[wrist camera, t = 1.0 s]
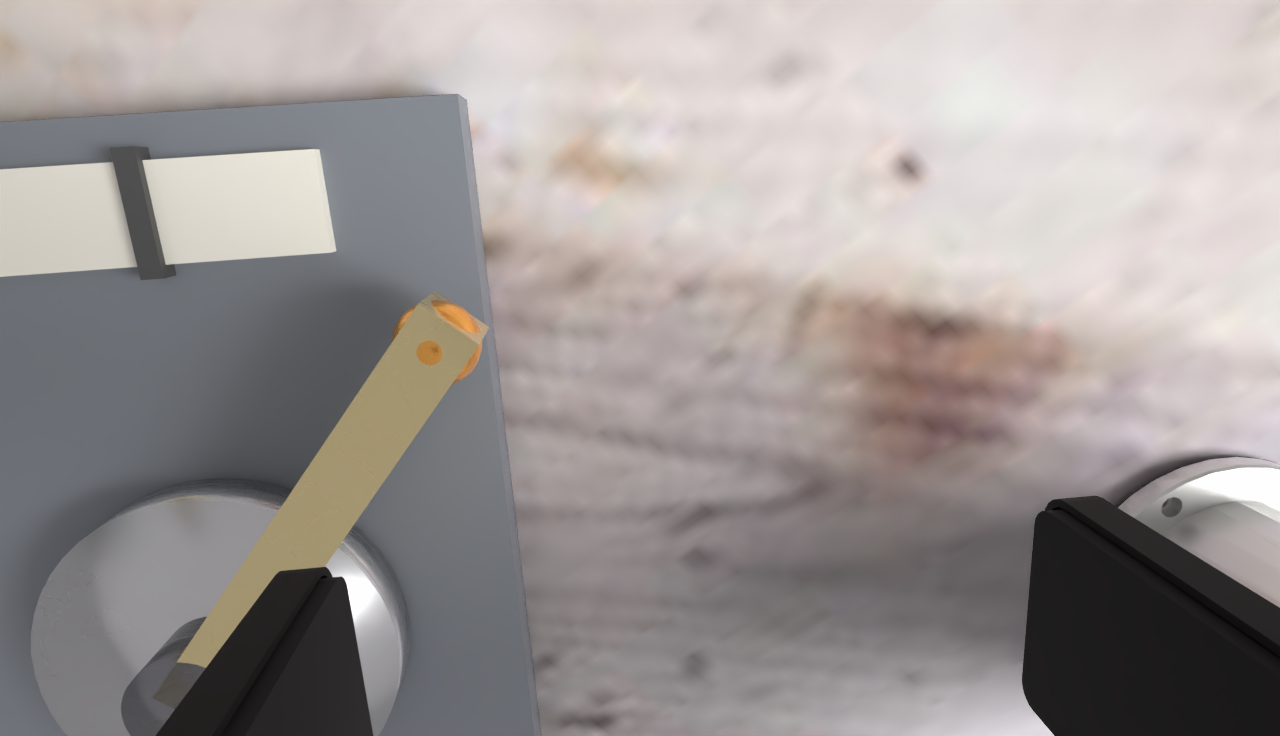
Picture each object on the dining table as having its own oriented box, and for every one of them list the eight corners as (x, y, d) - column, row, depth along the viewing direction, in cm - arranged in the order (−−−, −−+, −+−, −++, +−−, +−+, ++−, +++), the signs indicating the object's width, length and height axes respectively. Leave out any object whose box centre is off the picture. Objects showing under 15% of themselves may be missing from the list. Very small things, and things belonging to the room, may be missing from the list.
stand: (466, 100, 26) (453, 91, 23) (544, 761, 33) (541, 814, 30) (-154, 138, 25) (-245, 134, 22) (60, 816, 31) (12, 877, 29)
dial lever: (304, 818, 30) (258, 924, 26) (5, 674, 27) (-99, 765, 23) (621, 391, 26) (629, 432, 22) (314, 183, 24) (258, 185, 20)
